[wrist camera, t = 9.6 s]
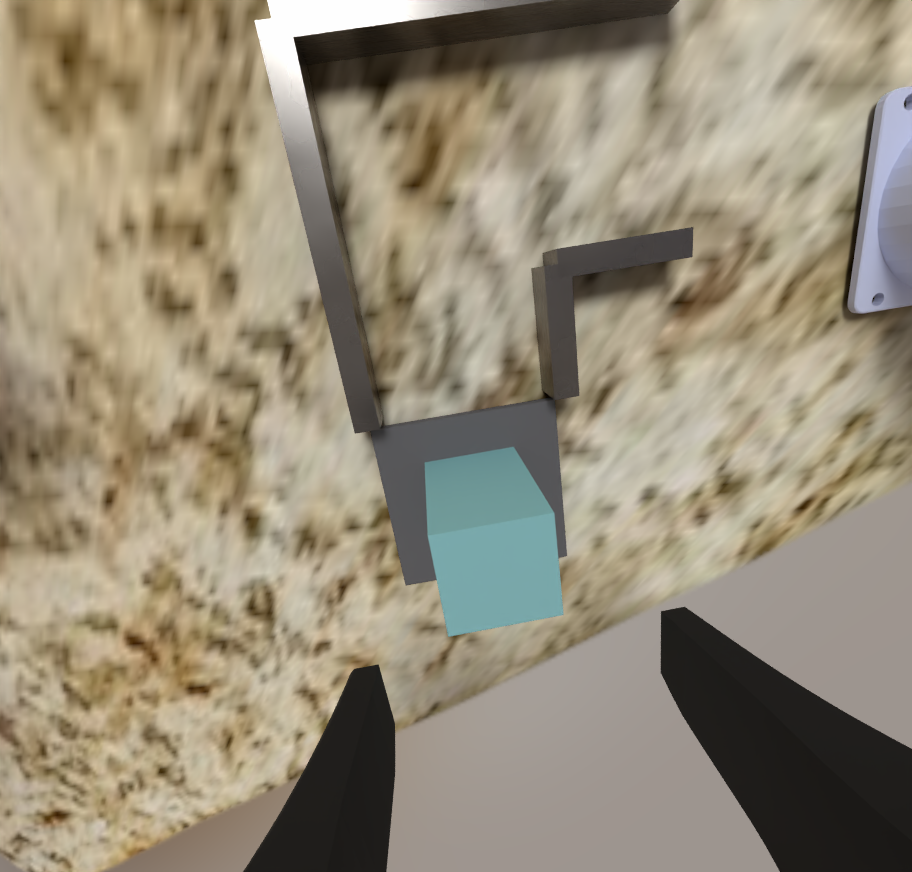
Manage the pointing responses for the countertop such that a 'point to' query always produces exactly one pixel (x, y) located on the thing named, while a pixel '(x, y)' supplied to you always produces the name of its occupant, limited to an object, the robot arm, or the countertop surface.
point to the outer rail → (286, 58)
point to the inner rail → (559, 303)
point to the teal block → (491, 542)
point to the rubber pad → (453, 437)
